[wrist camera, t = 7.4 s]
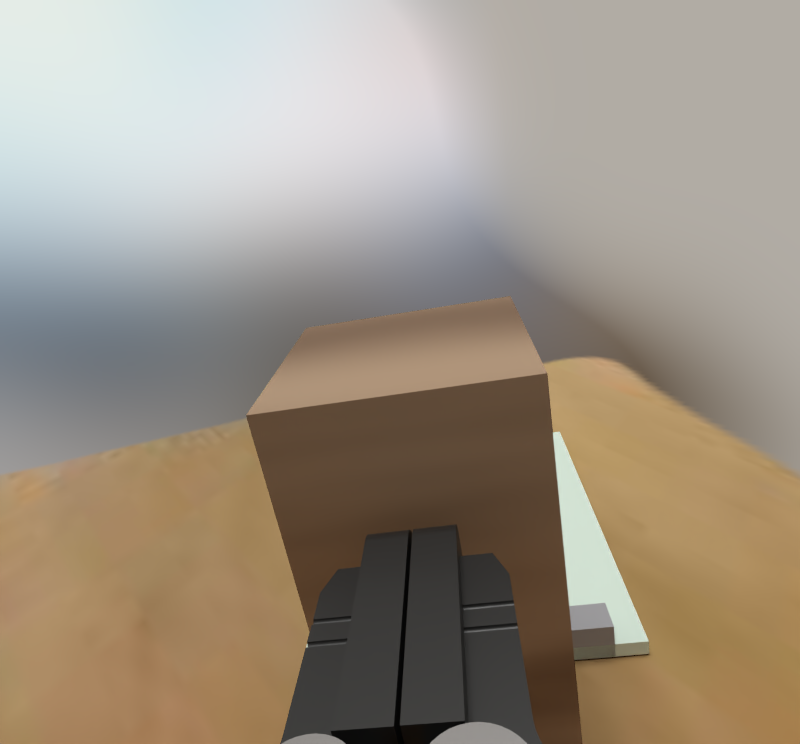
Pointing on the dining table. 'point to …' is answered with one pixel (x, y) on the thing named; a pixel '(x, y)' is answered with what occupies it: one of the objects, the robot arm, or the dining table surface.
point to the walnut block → (426, 464)
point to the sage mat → (592, 575)
